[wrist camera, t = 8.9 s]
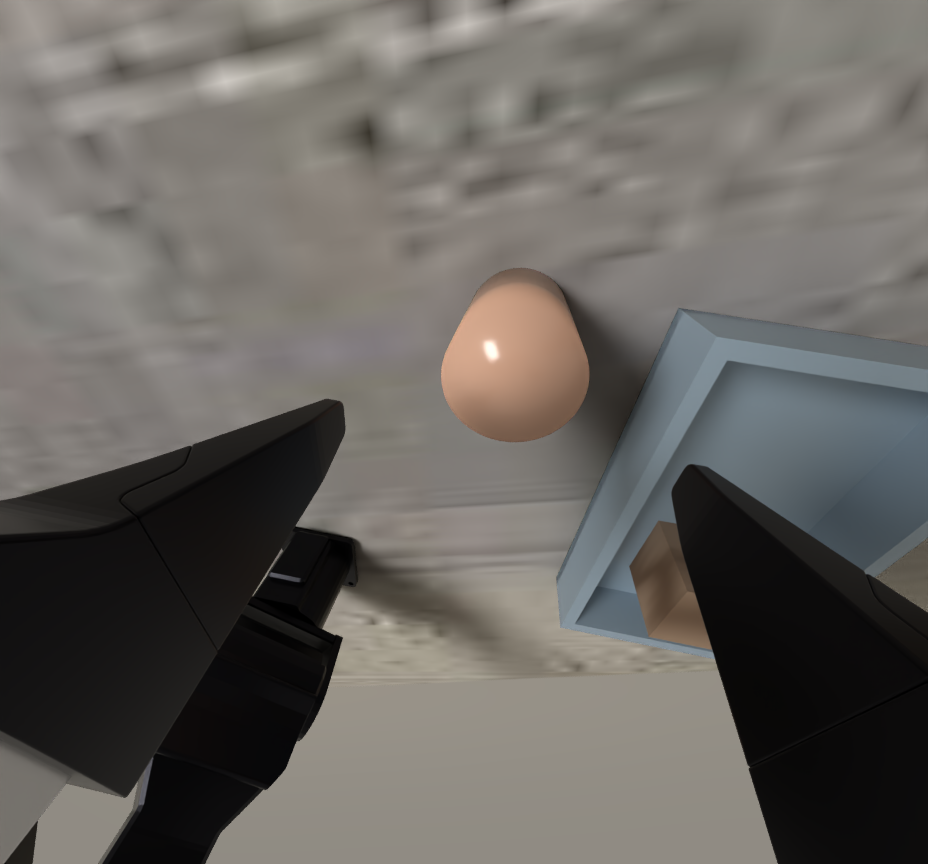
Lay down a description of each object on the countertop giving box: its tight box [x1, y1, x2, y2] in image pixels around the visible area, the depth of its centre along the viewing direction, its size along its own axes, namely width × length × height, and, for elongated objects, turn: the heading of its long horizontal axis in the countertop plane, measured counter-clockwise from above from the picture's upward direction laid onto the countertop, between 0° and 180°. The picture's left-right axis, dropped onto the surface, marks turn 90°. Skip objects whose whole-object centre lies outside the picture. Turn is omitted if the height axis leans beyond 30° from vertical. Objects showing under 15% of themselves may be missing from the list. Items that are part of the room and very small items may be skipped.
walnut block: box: [629, 521, 712, 650], centre depth 22 cm, size 5×5×5 cm
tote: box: [557, 308, 928, 659], centre depth 21 cm, size 22×14×4 cm, turn 173°
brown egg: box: [441, 268, 589, 442], centre depth 15 cm, size 5×5×7 cm
